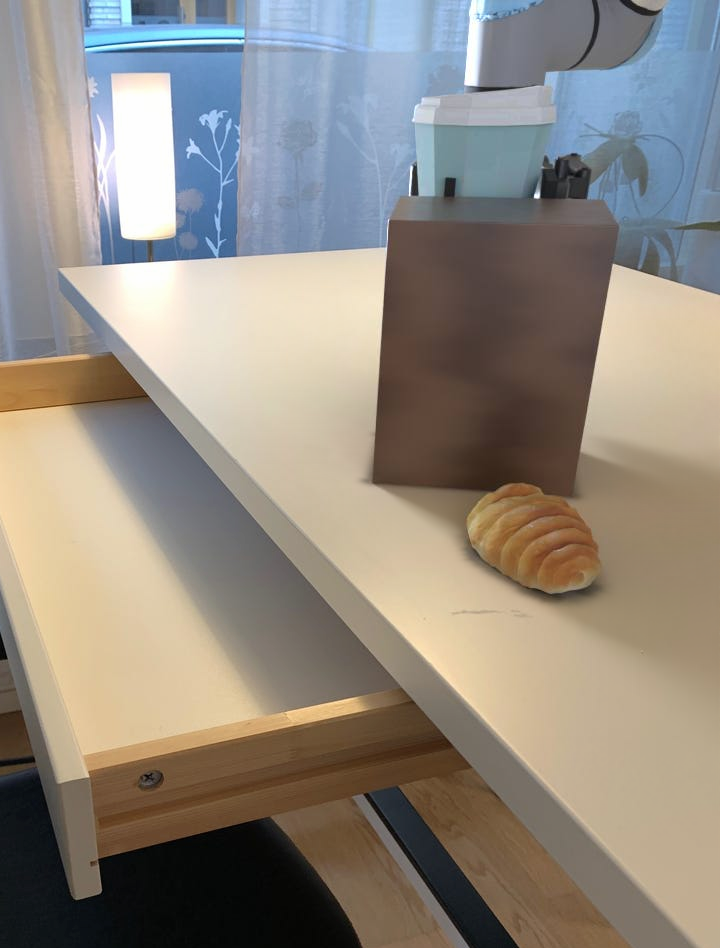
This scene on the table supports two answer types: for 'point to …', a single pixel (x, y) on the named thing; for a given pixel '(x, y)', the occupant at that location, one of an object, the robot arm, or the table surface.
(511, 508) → the pastry
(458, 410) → the storage box
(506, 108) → the disposable coffee cup
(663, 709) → the table surface
